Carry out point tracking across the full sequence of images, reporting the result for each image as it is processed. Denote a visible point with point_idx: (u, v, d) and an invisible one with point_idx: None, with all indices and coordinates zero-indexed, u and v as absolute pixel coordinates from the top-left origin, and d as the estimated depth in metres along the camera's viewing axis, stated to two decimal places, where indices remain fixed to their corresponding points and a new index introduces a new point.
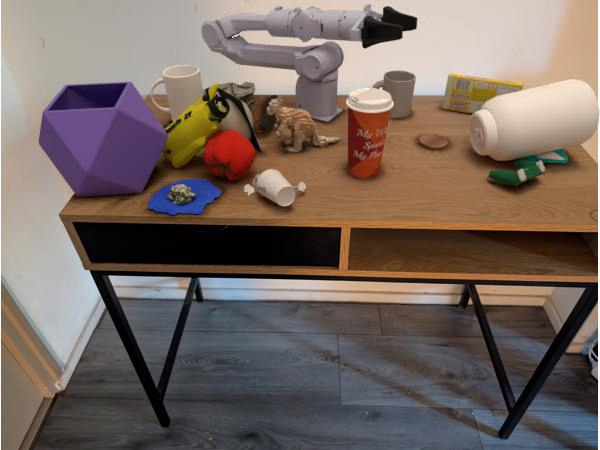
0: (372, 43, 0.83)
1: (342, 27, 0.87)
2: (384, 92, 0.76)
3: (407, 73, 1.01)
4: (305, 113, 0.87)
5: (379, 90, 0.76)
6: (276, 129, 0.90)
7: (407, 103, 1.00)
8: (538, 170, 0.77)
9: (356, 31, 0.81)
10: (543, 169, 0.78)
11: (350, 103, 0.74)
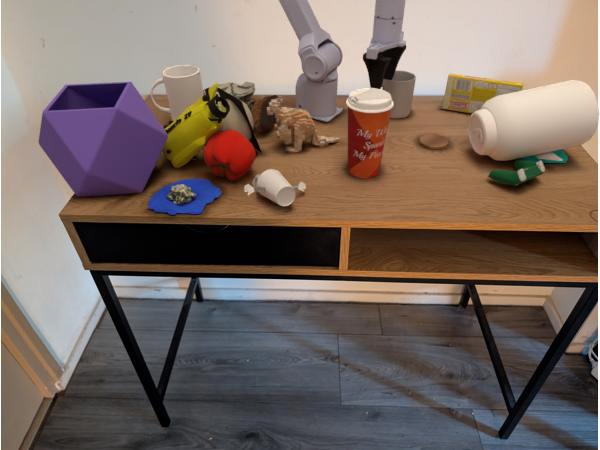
0: (366, 64, 0.88)
1: (384, 22, 0.84)
2: (384, 92, 0.76)
3: (407, 73, 1.01)
4: (305, 113, 0.87)
5: (379, 90, 0.76)
6: (276, 129, 0.90)
7: (407, 103, 1.00)
8: (538, 170, 0.77)
9: (374, 57, 0.84)
10: (543, 169, 0.78)
11: (350, 103, 0.74)
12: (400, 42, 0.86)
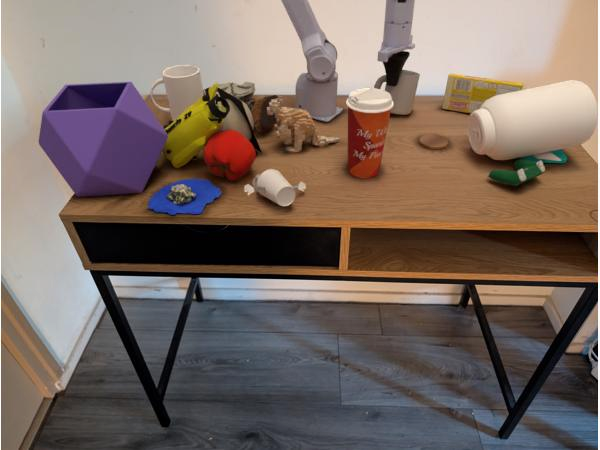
0: (384, 62, 0.95)
1: (394, 27, 0.88)
2: (384, 92, 0.76)
3: (410, 72, 1.02)
4: (305, 113, 0.87)
5: (379, 90, 0.76)
6: (276, 129, 0.90)
7: (410, 99, 1.00)
8: (538, 170, 0.77)
9: (385, 60, 0.89)
10: (543, 169, 0.78)
11: (350, 103, 0.74)
12: (409, 45, 0.91)
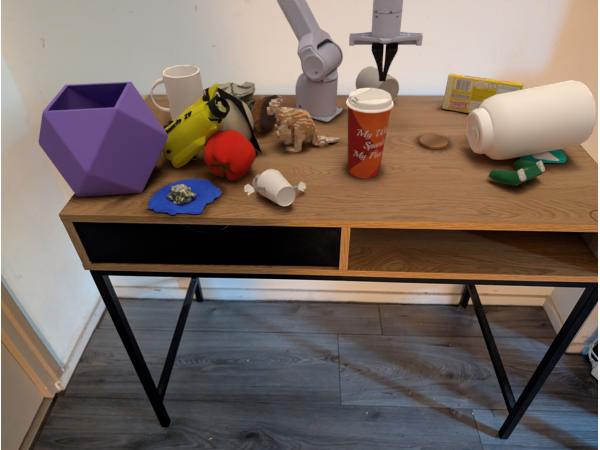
0: None
1: (372, 14, 0.85)
2: (384, 92, 0.76)
3: None
4: (305, 113, 0.87)
5: (379, 90, 0.76)
6: (276, 129, 0.90)
7: None
8: (538, 170, 0.77)
9: (349, 43, 0.89)
10: (543, 169, 0.78)
11: (350, 103, 0.74)
12: (382, 39, 0.85)
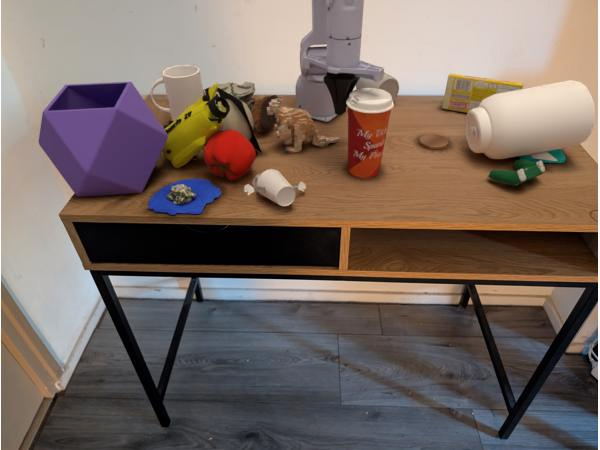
0: None
1: None
2: (384, 92, 0.76)
3: None
4: (305, 113, 0.87)
5: (379, 90, 0.76)
6: (276, 129, 0.90)
7: None
8: (538, 170, 0.77)
9: None
10: (543, 169, 0.78)
11: (350, 103, 0.74)
12: (331, 67, 0.72)
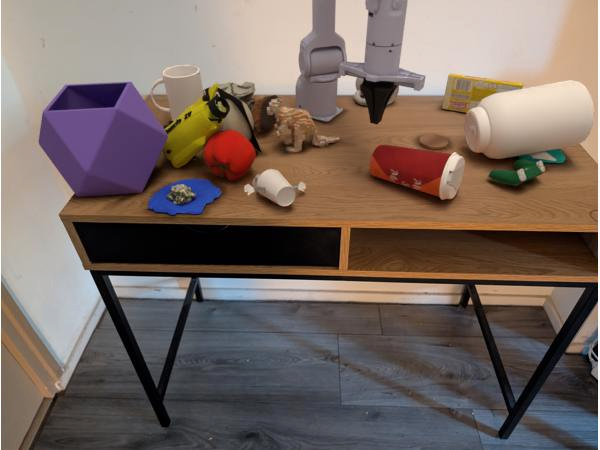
0: None
1: None
2: (461, 178, 0.75)
3: None
4: (305, 113, 0.87)
5: (462, 172, 0.75)
6: (276, 129, 0.90)
7: None
8: (538, 170, 0.77)
9: None
10: (543, 169, 0.78)
11: (446, 174, 0.70)
12: (369, 75, 0.69)
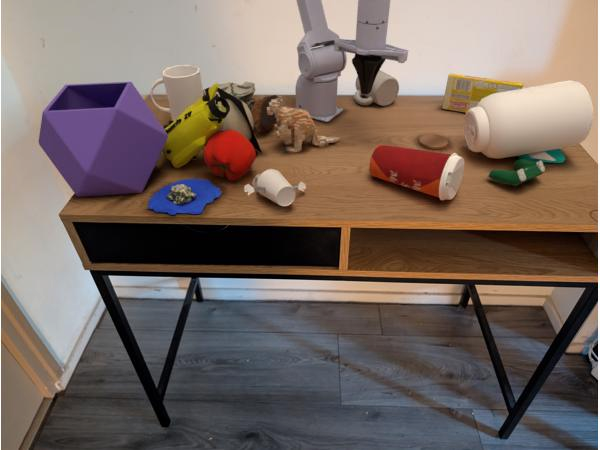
0: None
1: None
2: (461, 178, 0.75)
3: None
4: (305, 113, 0.87)
5: (462, 172, 0.75)
6: (276, 129, 0.90)
7: (381, 72, 1.05)
8: (538, 170, 0.77)
9: None
10: (543, 169, 0.78)
11: (445, 176, 0.70)
12: (360, 49, 0.80)
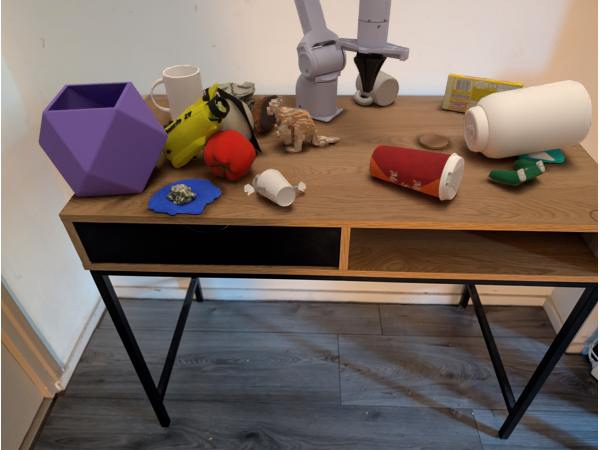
0: None
1: None
2: (461, 178, 0.75)
3: None
4: (305, 113, 0.87)
5: (462, 172, 0.75)
6: (276, 129, 0.90)
7: (381, 72, 1.05)
8: (538, 170, 0.77)
9: None
10: (543, 169, 0.78)
11: (445, 176, 0.70)
12: (361, 48, 0.81)
